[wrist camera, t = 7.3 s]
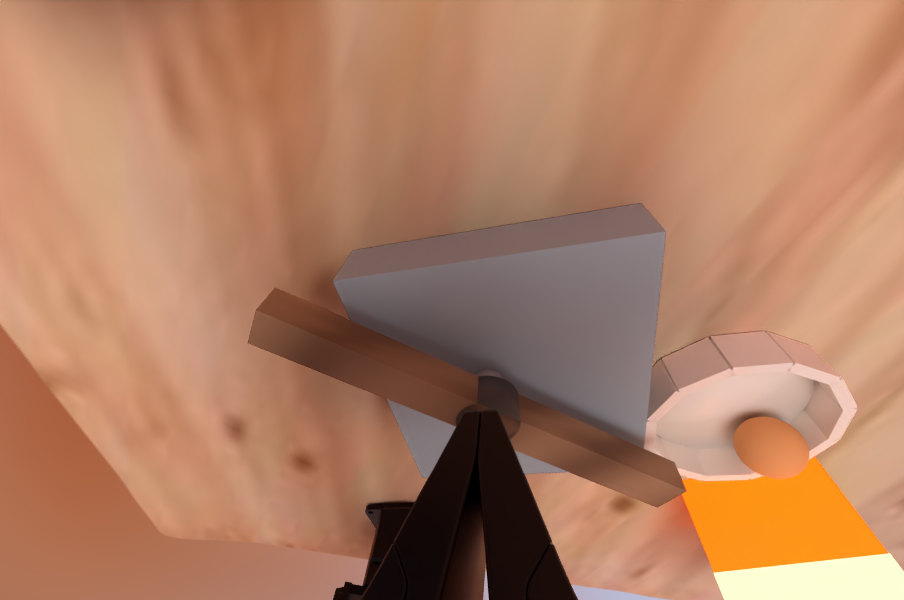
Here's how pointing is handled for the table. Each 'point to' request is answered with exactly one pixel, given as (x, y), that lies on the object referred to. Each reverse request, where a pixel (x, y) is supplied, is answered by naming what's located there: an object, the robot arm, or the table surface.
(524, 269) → the board
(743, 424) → the ball
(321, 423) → the table surface
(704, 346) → the bowl
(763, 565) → the orange juice
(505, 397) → the lever
